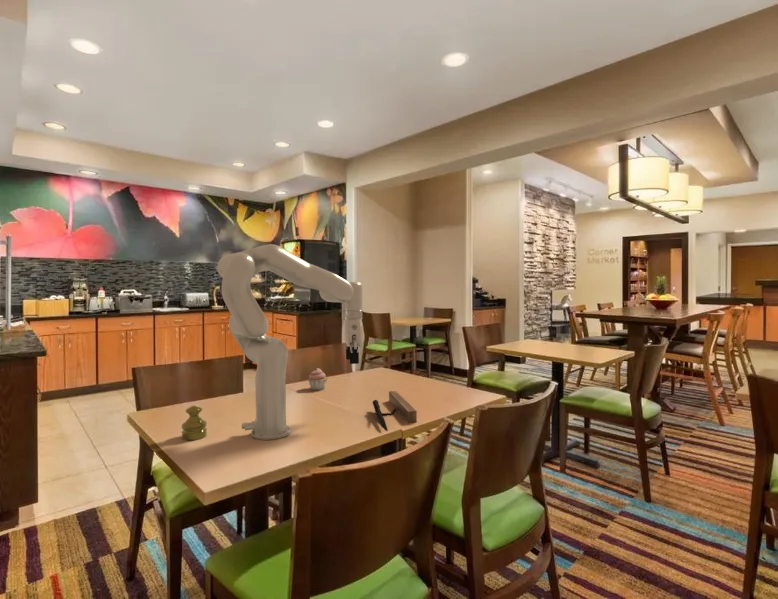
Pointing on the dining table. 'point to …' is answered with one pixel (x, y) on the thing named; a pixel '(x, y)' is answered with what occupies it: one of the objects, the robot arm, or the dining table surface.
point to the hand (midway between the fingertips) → (352, 361)
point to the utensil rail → (403, 406)
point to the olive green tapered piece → (194, 425)
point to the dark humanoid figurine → (380, 414)
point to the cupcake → (317, 380)
